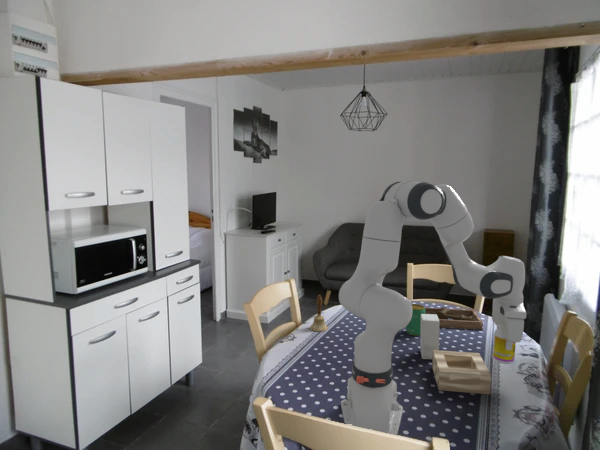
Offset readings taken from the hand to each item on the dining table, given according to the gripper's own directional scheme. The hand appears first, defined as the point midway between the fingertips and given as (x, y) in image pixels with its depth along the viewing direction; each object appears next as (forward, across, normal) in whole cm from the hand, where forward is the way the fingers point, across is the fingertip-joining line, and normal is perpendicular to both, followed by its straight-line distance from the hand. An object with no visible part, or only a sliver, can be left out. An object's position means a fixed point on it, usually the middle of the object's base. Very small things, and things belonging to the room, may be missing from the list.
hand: (504, 344), depth 140 cm
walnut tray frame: (+14, -56, -8) cm, 59 cm away
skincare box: (+14, -18, -22) cm, 32 cm away
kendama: (+14, -56, -7) cm, 58 cm away
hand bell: (+15, -38, -68) cm, 79 cm away
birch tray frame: (+15, 0, -14) cm, 20 cm away
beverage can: (+14, -40, -25) cm, 49 cm away
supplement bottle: (+6, 0, 0) cm, 6 cm away
